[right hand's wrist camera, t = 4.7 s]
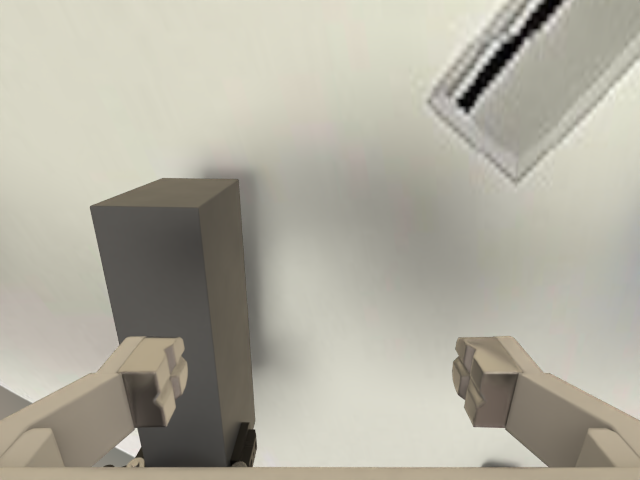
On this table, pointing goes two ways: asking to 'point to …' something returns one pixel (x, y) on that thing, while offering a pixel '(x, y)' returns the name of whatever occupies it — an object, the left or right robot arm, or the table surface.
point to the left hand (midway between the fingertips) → (208, 429)
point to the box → (184, 306)
